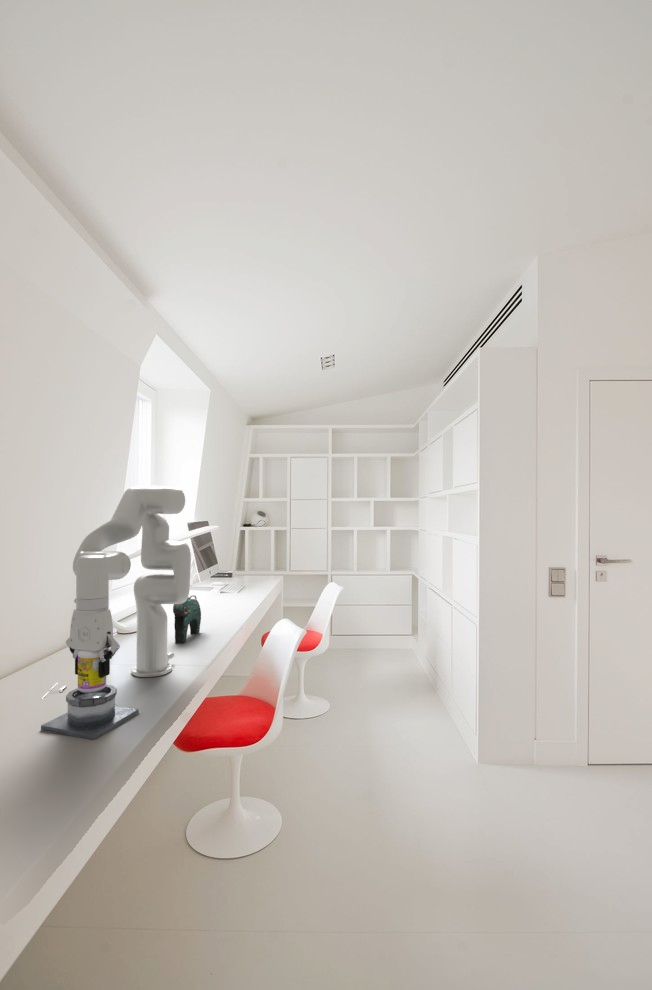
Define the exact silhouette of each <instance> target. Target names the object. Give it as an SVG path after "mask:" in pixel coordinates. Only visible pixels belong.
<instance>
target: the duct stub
mask: <svg viewBox="0 0 652 990" xmlns="http://www.w3.org/2000/svg"><path fill="white" fill-rule="evenodd" d="M117 694H118V689H117V688H116V687H115V686H114V685H112V684H106V686H105V688H103V689H102V690H99V691H96V692H91V693H84V692H80V691H79V690H78V687H77V688H75V689H73V690H70V691H69V692H68V693H67V694H66V695H65V701H66V703H67V712H65V713H64V714H61V715H59V716H57V717H56V718H54V719H52V720H49V721H46V723H43V724H41V725H40V731H41V732H49V733H52V734H60V735H64V736H69V737H70V736H71V737H77V738H83V739H88V740H92V741H95V740H97V739H98V738H100V737H102V736H105V734H107V733H109V732H111V731H112V730H114V729H115V728H118V725H119V726H120V725H122V724H123V722H124V723H126V722H127V721H128V719H129V720H130V718H131V719H132V718H134V717H136V716H138V715H139V714H140V713H139V712H140V711H139V710H140V709H139V708H135V707H134V708H133V707H127V706H121V705H120V706H119V705H116V696H117ZM135 715H136V716H135ZM133 716H134V717H133ZM126 720H127V721H126ZM125 721H126V722H125ZM113 728H114V729H113Z"/></svg>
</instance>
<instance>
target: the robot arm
mask: <svg viewBox="0 0 652 990" xmlns="http://www.w3.org/2000/svg"><path fill="white" fill-rule="evenodd" d="M185 505H186V496H185V493H184V492H183V490H182V489H181V488H179V487H170V486H164V485H163V486H162V485H160V486H159V485H155V486H154V485H152V486H151V485H136V486H131V487H129V488H127V489H125V491H124V492H123V495H122V497H121V499H120V501H119V502H118V505H117V506H116V509H115V510H114V513H113V515H112V517H111V519H110V520H109V521H106V522H105V523H103V524H102V525H100V526H99V527H97V528H95V529H94V530H92V532H90V533H89V534H88V535H86V536H85V537H84V538H83V540H82V542H81V544H80V545H79V547H78V549H77V552H76V553H75V556H74V558H73V561H72V571H73V574H74V575H75V576H76V580H75V581H76V582H75V584H76V588H75V589H76V593H75V595H76V596H75V599H74V600H73V601H74V602H73V603H74V604H75V605H76V606H75V609H73V613H72V616H71V621H70V630H69V637H68V638H67V639H66V641H65V644H66V645H67V647H68V649H69V651H70V653H71V654H72V658H73V659H74V674H75V675H77V676H78V652H79V650H82V651H90V652H98V654H99V657H100V659H101V661H100V662H99V678H103V677H105V676H106V677H107V676H108V675H110V673H111V672H110V671H111V668H110V667H111V665H110V663H111V662H110V661H111V660H112V659H113V657H114V656H115V654H116V652H118V650H119V649H120V647H121V646H120V644H119V642H117V640H116V639H115V638H114V625H113V617H112V612H111V609H110V608H109V600H110V599H109V596H110V595H109V592H110V591H109V588H110V587H109V585H110V583H109V582H110V581H112V580H113V581H114V580H118V581H119V580H121V579H123V578H125V577H126V576H127V575H128V573H129V572H130V570H131V565H132V563H131V559H130V557H129V556H128V554H126V553H125V552H122V551H115V550H114V551H112V550H111V551H110V550H105V549H106V548H109V547H111V546H114V545H117V544H120V543H123V542H126V541H128V540H130V539H133V538H134V537H136V536H137V535H138V534H139V533H140V531H141V529H142V531H141V532H142V535H141V548H140V551H141V552H140V563H141V565H142V567H143V568H144V569H145V570H149V571H172V572H173V574H167V573H165V574H164V573H161V574H160V573H159V574H157V573H149V574H143V575H140V576H139V577H137V578H136V579H135V581H134V584H133V595H134V601H135V606H136V607H135V608H136V665H135V666H133V667H132V668H131V675H133V676H134V677H137V678H138V677H139V678H154V677H160V676H164V675H167V674H169V673H170V672H171V671H172V669H173V665H172V664H170V663H169V660H172V659H173V658H174V657H175V654H174V652H169V653H168V615H167V612H166V610H165V608H164V607H163V606H162V605H174V604H182V603H184V602H185V601H186V600H187V599H188V597H189V595H190V589H191V588H190V587H191V586H190V585H191V564H192V563H191V562H192V561H191V560H192V554H191V553H192V552H191V549H190V546H189V545H188V544H187V543H186V542H184V541H175V540H174V541H173V540H171V541H170V525H169V523H168V521H167V519H166V518H165V517H164V515H175V514H180V513H181V512H183V510H184V508H185ZM104 650H105V653H106V654H104V652H103V651H104Z"/></svg>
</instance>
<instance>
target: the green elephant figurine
mask: <svg viewBox="0 0 652 990" xmlns="http://www.w3.org/2000/svg"><path fill="white" fill-rule="evenodd" d="M192 597H194V598H192ZM172 605H173V606H172V607H173V608H172V612H173V615H174V624H173V625H174V641H175V642H174V643H175V644H182V645H183V644H185V643H186V642H187V637H188V629H189V630H190V632H189V633H190V634H191V635H198V634H200V629H201V623H202V610H201V609H202V608H201V607H200V606H201V605H200V603H199V601H198V599H197V596H196V595H190V596H188V599H187V600H186V601H185V602H184V603H182V604H172Z"/></svg>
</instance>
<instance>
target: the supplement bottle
mask: <svg viewBox="0 0 652 990" xmlns="http://www.w3.org/2000/svg"><path fill="white" fill-rule="evenodd" d="M103 652H104V654H106V653H105V650H104V651H103ZM100 661H101V659H100V657H99V654H98V652H90V651H82V650H79V652H78V675H77V688H78V690H79V691H80V692H84V693H91V692H96V691H99V690H102V689H103V688H105V686H106V685H107V676H105V677H103V678H99V662H100Z"/></svg>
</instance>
